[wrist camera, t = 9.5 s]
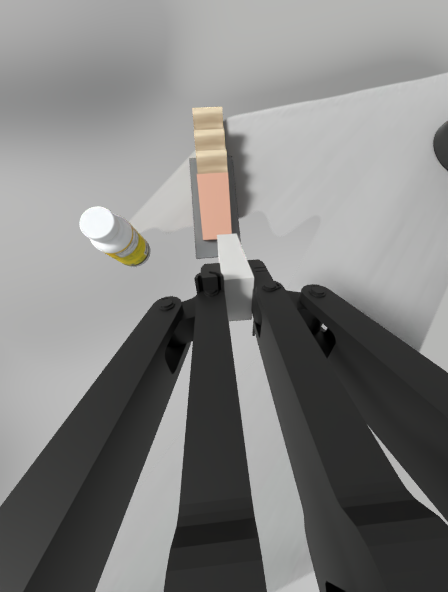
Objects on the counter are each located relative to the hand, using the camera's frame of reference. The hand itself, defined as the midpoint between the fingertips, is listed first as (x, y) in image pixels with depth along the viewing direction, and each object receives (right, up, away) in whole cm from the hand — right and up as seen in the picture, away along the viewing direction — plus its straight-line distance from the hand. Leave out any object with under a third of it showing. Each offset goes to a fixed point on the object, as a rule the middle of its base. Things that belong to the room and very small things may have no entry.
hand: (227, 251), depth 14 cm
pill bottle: (-18, +5, +21) cm, 28 cm away
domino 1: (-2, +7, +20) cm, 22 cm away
